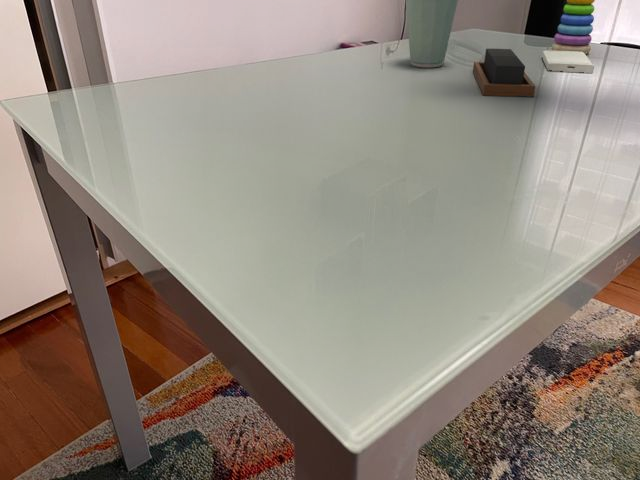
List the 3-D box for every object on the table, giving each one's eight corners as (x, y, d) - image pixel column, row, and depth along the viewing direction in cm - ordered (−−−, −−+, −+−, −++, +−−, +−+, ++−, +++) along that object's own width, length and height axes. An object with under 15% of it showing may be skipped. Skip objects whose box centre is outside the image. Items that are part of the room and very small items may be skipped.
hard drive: (542, 49, 111) (549, 62, 101) (584, 51, 110) (595, 64, 99) (541, 58, 112) (547, 71, 102) (582, 59, 110) (592, 73, 100)
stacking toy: (594, 52, 117) (618, -44, 107) (581, 57, 112) (605, -42, 102) (559, 47, 121) (579, -45, 112) (544, 52, 116) (564, -43, 107)
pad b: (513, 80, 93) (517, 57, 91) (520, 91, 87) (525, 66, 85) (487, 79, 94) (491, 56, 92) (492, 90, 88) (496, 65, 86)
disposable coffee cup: (441, 73, 101) (450, -14, 93) (390, 66, 106) (395, -16, 98) (459, 62, 109) (469, -19, 101) (411, 56, 113) (417, -21, 106)
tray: (515, 72, 101) (517, 63, 100) (533, 97, 86) (535, 86, 85) (472, 71, 102) (474, 61, 101) (482, 95, 87) (484, 84, 86)
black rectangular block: (507, 71, 99) (511, 49, 97) (513, 80, 94) (517, 56, 91) (482, 70, 100) (486, 48, 98) (487, 79, 94) (491, 56, 92)
